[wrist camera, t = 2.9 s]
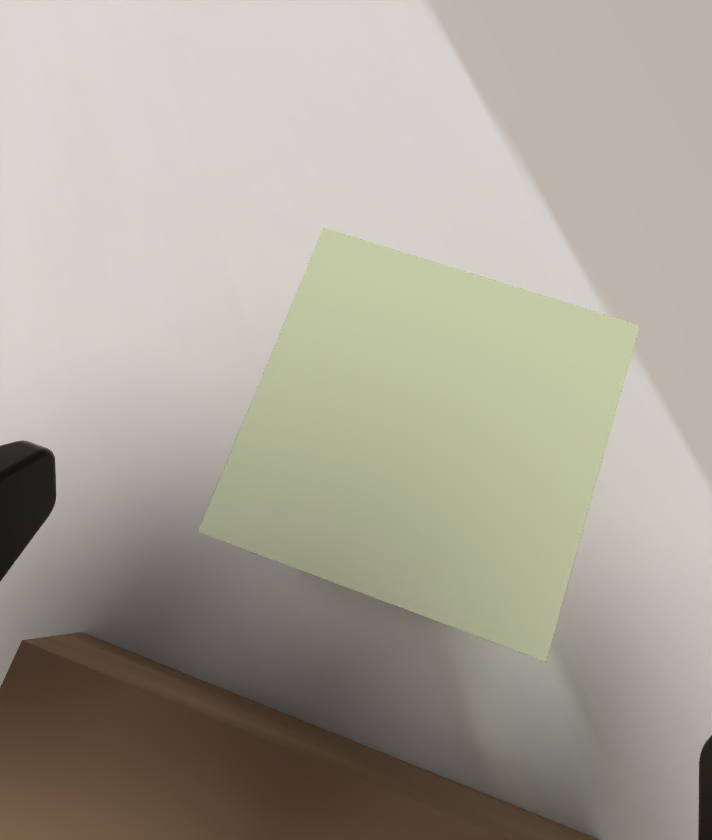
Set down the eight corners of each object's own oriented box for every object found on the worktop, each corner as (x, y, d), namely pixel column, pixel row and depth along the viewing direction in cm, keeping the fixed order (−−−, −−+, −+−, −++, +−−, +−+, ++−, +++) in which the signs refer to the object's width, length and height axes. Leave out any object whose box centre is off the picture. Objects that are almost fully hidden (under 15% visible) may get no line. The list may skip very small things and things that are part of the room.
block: (452, 622, 17) (546, 662, 8) (295, 563, 18) (198, 531, 8) (501, 465, 18) (638, 325, 9) (351, 414, 19) (323, 227, 9)
